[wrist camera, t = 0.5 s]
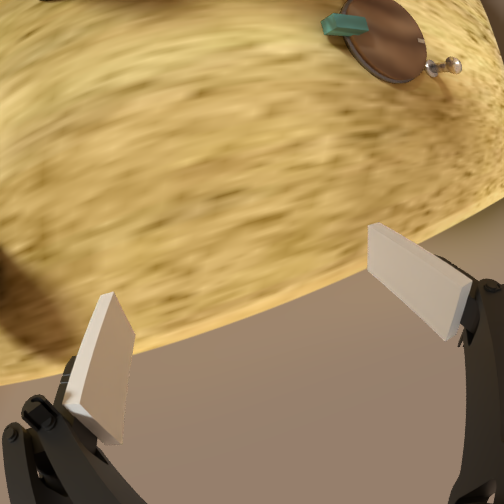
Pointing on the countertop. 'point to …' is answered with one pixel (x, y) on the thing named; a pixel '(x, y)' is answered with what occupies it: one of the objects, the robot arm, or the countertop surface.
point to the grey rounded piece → (443, 67)
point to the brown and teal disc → (382, 37)
